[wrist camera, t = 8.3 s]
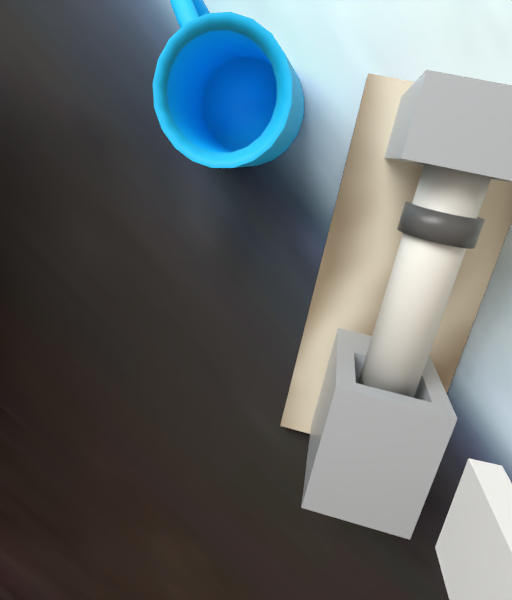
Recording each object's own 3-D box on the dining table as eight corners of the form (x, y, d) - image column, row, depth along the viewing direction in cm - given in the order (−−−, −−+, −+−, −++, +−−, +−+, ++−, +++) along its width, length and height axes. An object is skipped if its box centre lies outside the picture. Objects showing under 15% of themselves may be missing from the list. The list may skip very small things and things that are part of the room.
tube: (411, 389, 32) (421, 424, 28) (349, 373, 33) (350, 405, 29) (504, 124, 27) (533, 119, 22) (427, 110, 27) (442, 101, 23)
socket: (486, 179, 31) (548, 188, 22) (384, 158, 32) (401, 158, 23) (508, 116, 30) (583, 98, 21) (401, 96, 31) (426, 69, 21)
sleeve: (393, 446, 38) (410, 539, 29) (311, 423, 39) (301, 507, 30) (427, 349, 36) (457, 418, 26) (337, 327, 36) (335, 386, 27)
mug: (323, 133, 33) (317, 125, 26) (226, 185, 36) (194, 192, 28) (248, -34, 31) (217, -97, 24) (150, 33, 34) (93, -4, 26)
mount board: (281, 419, 41) (280, 425, 40) (367, 76, 32) (368, 73, 31) (418, 457, 39) (420, 464, 39) (547, 109, 30) (554, 108, 30)
